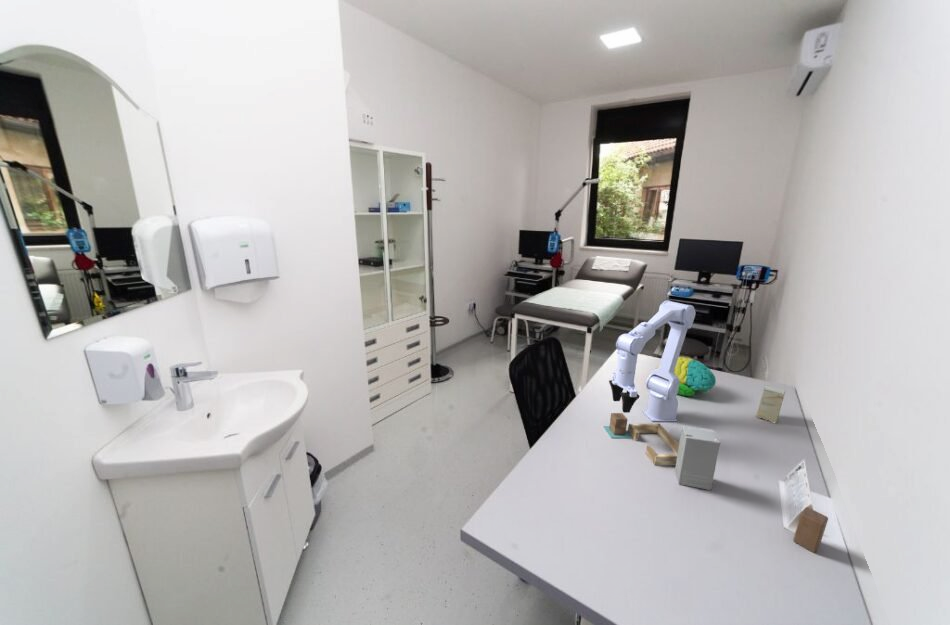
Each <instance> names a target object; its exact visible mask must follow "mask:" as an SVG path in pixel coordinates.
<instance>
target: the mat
mask: <svg viewBox="0 0 950 625" xmlns="http://www.w3.org/2000/svg"><path fill="white" fill-rule="evenodd" d="M609 426H610V425H603V428H604V430H605V432H606V433H607V434H608V436H609V437H610V438H611V439H633V437H632V436H631V435H630V434H629V432H628V430H626V434H625V435H614V434H613V433H612V432H611V430H610V429H609Z"/></svg>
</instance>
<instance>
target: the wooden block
mask: <svg viewBox="0 0 950 625" xmlns="http://www.w3.org/2000/svg"><path fill="white" fill-rule="evenodd" d="M828 521H829V517H828V516H826V515H824V514H822V513H820V512H819V511H816V510H814V509H812V508H810V507H808V506H805V507H804V509H803V510H802V512H801V513H800V516H799V519H798V523H797V526H796V529H795V533H794V536H793V542H794V543H796V544H798V545H799V546H800V547H803V548H804V549H806V550H808V551H810V552H811V553H813V554H814V553H816V552H817V551H818V549H819V547H820V545H821V542H822V540H823V537H824V534H825V530H826V527H827V525H828Z"/></svg>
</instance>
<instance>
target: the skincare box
mask: <svg viewBox="0 0 950 625" xmlns="http://www.w3.org/2000/svg"><path fill="white" fill-rule="evenodd" d="M678 443H679V449H678V455H677V461H676V465H675V468H674V472H675V474H676V475H675V476H676V479H677V483H678V485H682V486H687V487H693V488H699V489H704V490H707V491H711V489H712V486H713V480H714V475H715V470H716V467H717V461H718V455H719V450H720V446H721V442H720V439H719V437H718V436H717V433H716V432H715V430H714V429H711V428H703V427H698V426H697V427H696V426H690V425H684V424H682V426H681V432H680V436H679V442H678Z"/></svg>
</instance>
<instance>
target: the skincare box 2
mask: <svg viewBox="0 0 950 625" xmlns="http://www.w3.org/2000/svg"><path fill="white" fill-rule="evenodd" d="M785 394H786V390H785V389H781V388H776V387H774V386H768V385H764V386H763V390H762V394H761V398H760V401H759V405H758V409H757V413H756V416H757V417H760V418H763V419H766V420H765V421H767V420H769V421H768V422H770V421H772V422H771V423H773V422H775V423H774V424H777V421H778V420H779V415H780V411H781V408H782V405H783V401H784V398H785ZM757 417H756V418H757ZM760 418H759V419H760ZM763 419H762V420H763Z"/></svg>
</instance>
